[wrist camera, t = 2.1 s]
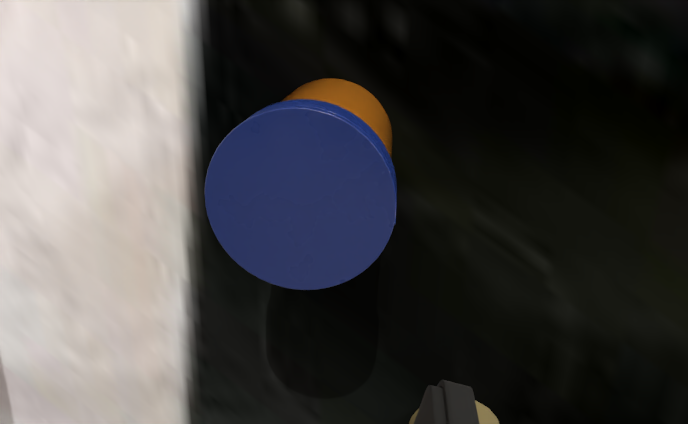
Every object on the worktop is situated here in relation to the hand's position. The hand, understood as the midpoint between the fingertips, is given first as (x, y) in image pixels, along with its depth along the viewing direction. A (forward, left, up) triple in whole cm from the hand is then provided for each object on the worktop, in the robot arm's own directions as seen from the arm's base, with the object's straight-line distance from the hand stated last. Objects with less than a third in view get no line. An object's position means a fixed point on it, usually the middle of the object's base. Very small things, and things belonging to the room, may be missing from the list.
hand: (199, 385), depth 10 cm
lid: (0, 0, -10) cm, 10 cm away
